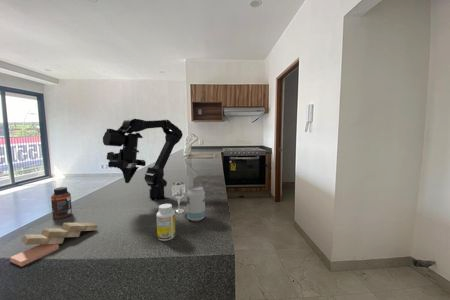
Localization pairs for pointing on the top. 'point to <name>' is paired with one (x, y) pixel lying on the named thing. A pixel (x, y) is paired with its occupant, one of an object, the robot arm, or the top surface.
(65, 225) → the domino
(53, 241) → the domino
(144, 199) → the top surface
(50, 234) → the domino
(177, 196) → the wineglass
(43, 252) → the domino
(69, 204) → the supplement bottle
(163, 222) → the supplement bottle
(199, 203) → the beverage can
